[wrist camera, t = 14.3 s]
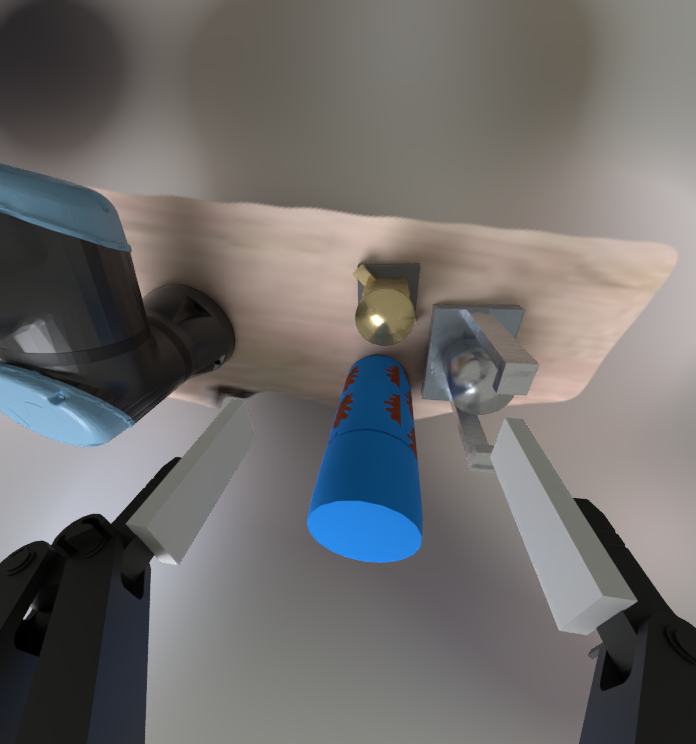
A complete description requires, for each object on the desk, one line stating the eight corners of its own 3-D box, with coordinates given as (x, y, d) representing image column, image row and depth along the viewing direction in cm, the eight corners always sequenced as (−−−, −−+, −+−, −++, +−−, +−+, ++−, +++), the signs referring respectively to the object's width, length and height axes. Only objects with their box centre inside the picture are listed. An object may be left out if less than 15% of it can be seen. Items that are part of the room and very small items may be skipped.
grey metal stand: (421, 391, 44) (433, 469, 31) (433, 304, 36) (456, 358, 23) (489, 395, 42) (533, 479, 29) (518, 304, 34) (596, 363, 21)
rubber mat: (359, 320, 39) (358, 323, 38) (358, 264, 35) (357, 265, 34) (413, 321, 38) (413, 324, 37) (419, 263, 33) (419, 264, 33)
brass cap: (432, 306, 35) (443, 331, 28) (393, 338, 38) (393, 369, 31) (377, 245, 32) (373, 256, 25) (341, 286, 36) (326, 306, 28)
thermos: (354, 408, 48) (323, 560, 27) (339, 359, 43) (287, 499, 22) (413, 402, 45) (430, 566, 24) (405, 349, 40) (417, 499, 19)
